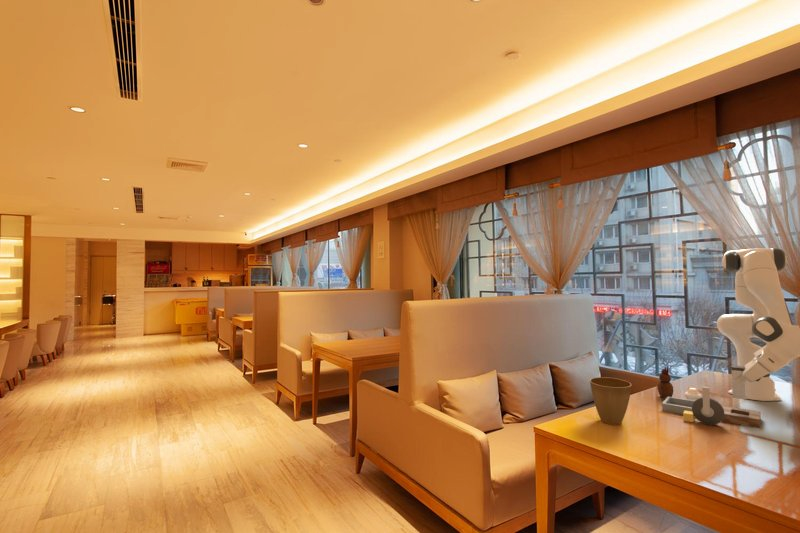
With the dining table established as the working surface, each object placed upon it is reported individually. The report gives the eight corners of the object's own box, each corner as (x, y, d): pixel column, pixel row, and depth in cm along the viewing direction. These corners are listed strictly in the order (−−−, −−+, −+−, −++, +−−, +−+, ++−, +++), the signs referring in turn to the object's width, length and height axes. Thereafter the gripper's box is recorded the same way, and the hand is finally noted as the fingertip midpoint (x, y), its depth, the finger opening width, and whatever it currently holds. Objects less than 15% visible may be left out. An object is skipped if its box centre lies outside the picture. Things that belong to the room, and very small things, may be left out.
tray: (668, 403, 184) (667, 396, 184) (703, 409, 175) (703, 402, 175) (662, 410, 174) (662, 403, 174) (699, 417, 166) (699, 409, 166)
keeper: (722, 412, 170) (722, 405, 170) (760, 419, 162) (760, 411, 162) (719, 420, 162) (719, 413, 162) (759, 427, 153) (759, 419, 153)
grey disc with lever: (685, 417, 165) (683, 380, 166) (725, 425, 156) (723, 386, 157) (682, 422, 160) (681, 384, 161) (723, 430, 152) (722, 389, 152)
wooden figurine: (675, 399, 189) (674, 367, 189) (662, 399, 190) (661, 367, 190) (669, 395, 195) (668, 364, 196) (655, 395, 196) (655, 364, 197)
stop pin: (733, 395, 165) (732, 365, 165) (746, 396, 162) (744, 366, 163) (732, 397, 162) (731, 367, 162) (745, 399, 160) (744, 368, 160)
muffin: (699, 406, 179) (699, 390, 180) (683, 403, 184) (682, 387, 184) (703, 403, 183) (702, 387, 184) (687, 400, 188) (686, 385, 188)
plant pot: (582, 418, 166) (581, 379, 166) (608, 413, 172) (607, 375, 172) (614, 431, 152) (613, 388, 153) (641, 425, 158) (640, 384, 158)
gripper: (761, 349, 166) (731, 369, 172) (760, 357, 151) (727, 379, 157) (776, 361, 162) (745, 381, 169) (776, 371, 147) (742, 393, 154)
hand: (736, 380), depth 163 cm, fingers closed on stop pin, 4 cm apart
